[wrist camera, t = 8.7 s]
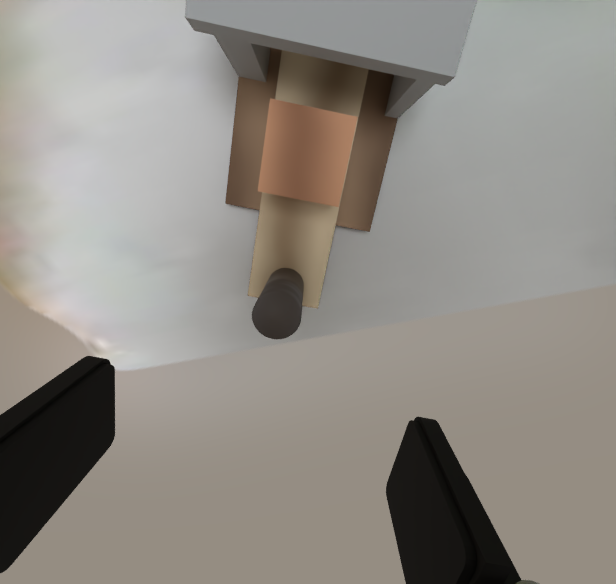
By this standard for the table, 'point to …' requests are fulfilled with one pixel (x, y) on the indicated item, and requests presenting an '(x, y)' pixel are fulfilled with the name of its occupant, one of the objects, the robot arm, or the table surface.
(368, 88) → the track board
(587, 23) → the table surface
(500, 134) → the table surface
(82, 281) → the table surface
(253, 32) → the tunnel
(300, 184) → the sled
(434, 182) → the table surface
